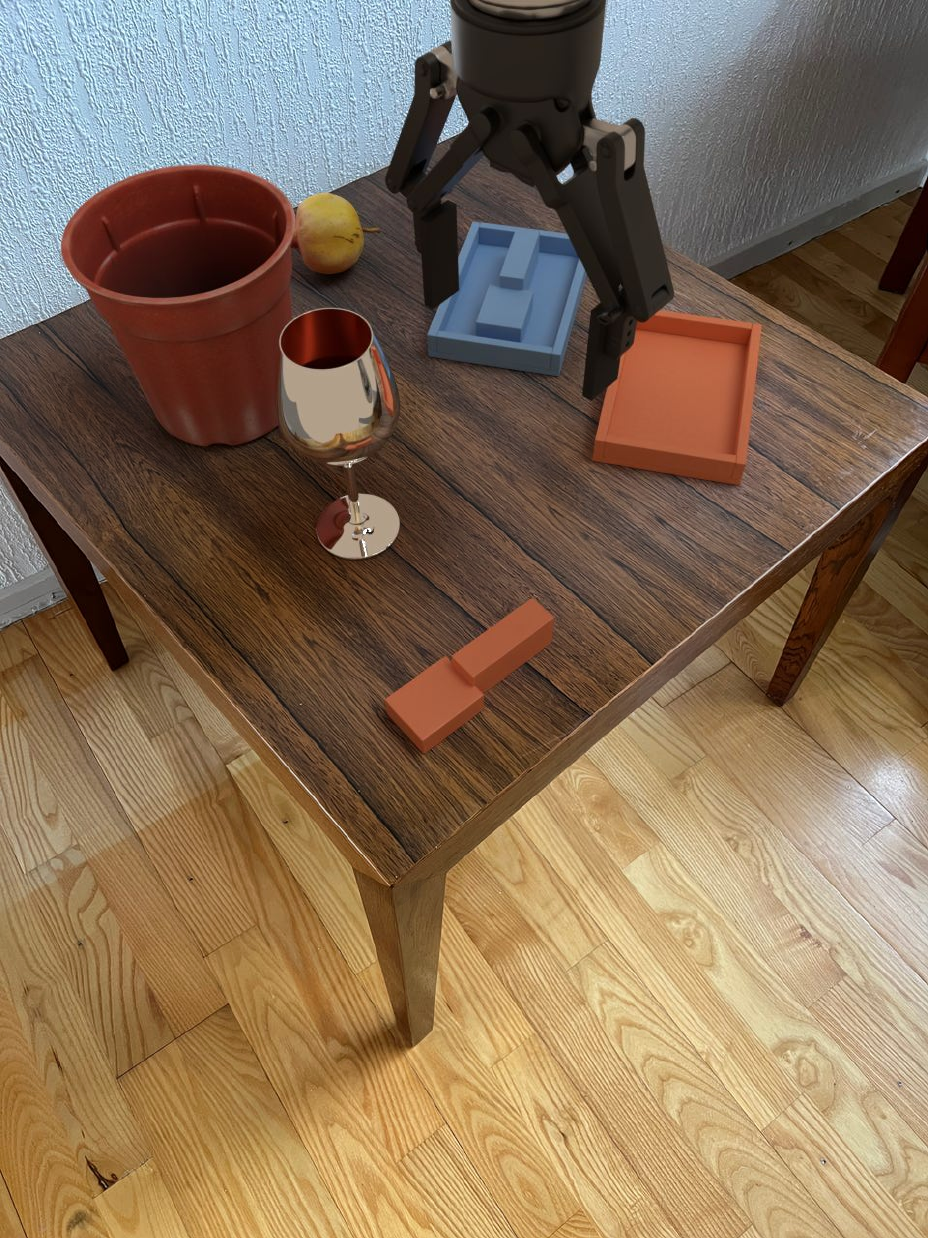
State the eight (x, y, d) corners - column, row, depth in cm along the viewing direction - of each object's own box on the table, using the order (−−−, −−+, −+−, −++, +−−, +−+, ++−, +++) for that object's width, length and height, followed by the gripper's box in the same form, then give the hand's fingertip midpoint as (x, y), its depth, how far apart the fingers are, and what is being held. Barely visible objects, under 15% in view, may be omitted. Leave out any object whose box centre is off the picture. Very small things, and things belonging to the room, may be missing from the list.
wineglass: (291, 506, 74) (242, 316, 60) (389, 474, 76) (366, 281, 61) (325, 584, 70) (281, 400, 55) (428, 548, 72) (413, 360, 57)
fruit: (371, 176, 89) (263, 190, 88) (382, 200, 84) (268, 215, 83) (379, 249, 94) (277, 264, 93) (391, 276, 89) (283, 292, 87)
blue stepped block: (506, 256, 90) (506, 225, 88) (547, 261, 90) (549, 231, 87) (475, 340, 84) (475, 310, 81) (520, 347, 83) (521, 316, 81)
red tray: (755, 346, 84) (762, 323, 82) (739, 485, 75) (746, 464, 73) (623, 326, 85) (626, 304, 83) (592, 461, 77) (595, 439, 75)
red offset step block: (522, 615, 68) (523, 589, 66) (560, 651, 67) (563, 625, 64) (386, 713, 64) (382, 690, 62) (423, 755, 62) (421, 732, 60)
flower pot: (330, 330, 86) (302, 158, 73) (320, 466, 77) (286, 298, 63) (146, 336, 86) (84, 166, 73) (115, 473, 77) (37, 306, 63)
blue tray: (591, 259, 91) (594, 236, 89) (558, 376, 82) (560, 354, 80) (472, 243, 93) (472, 220, 91) (428, 356, 84) (426, 334, 82)
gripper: (293, -61, 49) (345, 290, 67) (703, 104, 39) (637, 463, 57) (396, -108, 52) (419, 239, 70) (800, 35, 42) (708, 396, 60)
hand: (517, 341), depth 63 cm, fingers open, 13 cm apart
